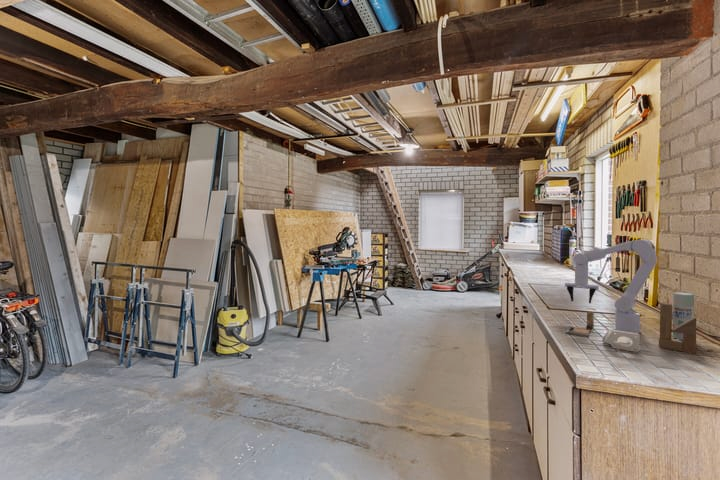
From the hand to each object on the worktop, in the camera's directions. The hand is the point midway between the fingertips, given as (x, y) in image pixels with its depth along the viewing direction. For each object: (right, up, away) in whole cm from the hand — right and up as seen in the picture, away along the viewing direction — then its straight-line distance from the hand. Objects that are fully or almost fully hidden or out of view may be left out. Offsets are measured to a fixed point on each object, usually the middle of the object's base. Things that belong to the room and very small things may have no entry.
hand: (581, 302), depth 174 cm
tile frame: (-12, -11, -17) cm, 23 cm away
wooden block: (+13, -12, -39) cm, 43 cm away
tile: (-11, -12, -17) cm, 23 cm away
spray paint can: (+27, -11, -27) cm, 40 cm away
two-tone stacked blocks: (-2, -11, -10) cm, 15 cm away
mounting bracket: (-8, -12, -36) cm, 39 cm away
